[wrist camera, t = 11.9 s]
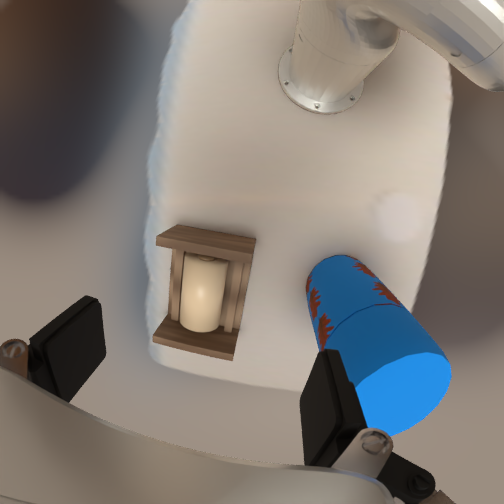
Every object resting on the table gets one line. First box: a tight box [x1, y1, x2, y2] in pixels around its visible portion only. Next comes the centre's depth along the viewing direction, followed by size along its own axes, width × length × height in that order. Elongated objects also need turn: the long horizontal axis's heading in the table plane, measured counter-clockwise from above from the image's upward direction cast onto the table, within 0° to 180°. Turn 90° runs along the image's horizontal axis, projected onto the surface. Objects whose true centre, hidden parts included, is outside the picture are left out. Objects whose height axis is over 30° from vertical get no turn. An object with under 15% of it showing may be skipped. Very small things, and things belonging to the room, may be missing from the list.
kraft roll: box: [180, 252, 228, 332], centre depth 38 cm, size 11×6×6 cm, turn 170°
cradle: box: [153, 225, 256, 361], centre depth 38 cm, size 16×12×8 cm
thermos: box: [306, 255, 451, 436], centre depth 29 cm, size 11×11×25 cm
